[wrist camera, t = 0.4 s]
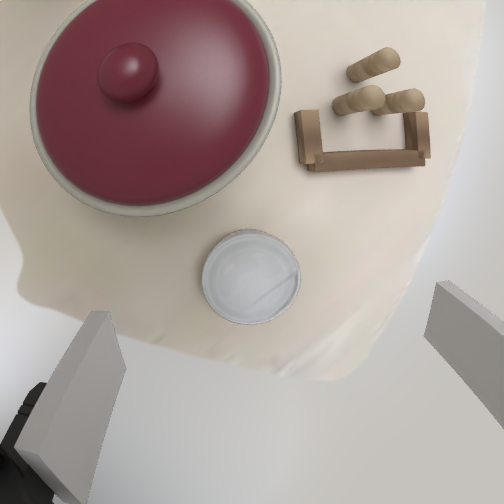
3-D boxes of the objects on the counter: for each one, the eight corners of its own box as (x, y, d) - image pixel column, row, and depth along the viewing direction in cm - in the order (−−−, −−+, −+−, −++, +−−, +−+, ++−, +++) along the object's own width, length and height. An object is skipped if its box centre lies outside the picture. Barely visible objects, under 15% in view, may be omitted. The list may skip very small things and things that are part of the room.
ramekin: (272, 313, 42) (279, 335, 37) (192, 291, 40) (189, 311, 35) (305, 238, 39) (317, 252, 34) (219, 209, 37) (219, 219, 32)
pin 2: (367, 97, 34) (405, 87, 26) (383, 97, 34) (423, 89, 26) (369, 115, 35) (407, 110, 26) (385, 115, 35) (426, 111, 26)
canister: (76, 120, 32) (-43, 111, 12) (181, 13, 29) (149, -93, 9) (176, 217, 37) (130, 299, 17) (287, 111, 34) (365, 74, 14)
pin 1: (331, 96, 34) (362, 84, 25) (349, 96, 34) (383, 85, 25) (333, 115, 34) (365, 108, 26) (351, 115, 35) (386, 109, 26)
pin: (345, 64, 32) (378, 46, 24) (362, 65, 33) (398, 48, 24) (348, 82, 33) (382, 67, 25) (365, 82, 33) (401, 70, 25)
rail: (294, 112, 34) (300, 110, 31) (414, 113, 35) (427, 112, 32) (300, 170, 36) (306, 172, 34) (418, 163, 37) (430, 166, 34)
